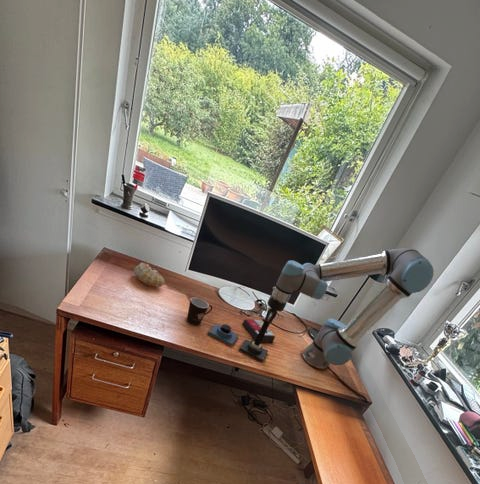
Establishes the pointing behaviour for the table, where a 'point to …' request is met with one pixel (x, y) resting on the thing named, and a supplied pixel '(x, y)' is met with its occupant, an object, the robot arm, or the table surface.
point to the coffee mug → (197, 310)
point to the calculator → (253, 330)
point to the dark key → (226, 328)
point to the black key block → (253, 351)
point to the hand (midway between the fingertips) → (256, 344)
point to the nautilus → (148, 275)
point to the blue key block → (223, 335)
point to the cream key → (256, 346)
